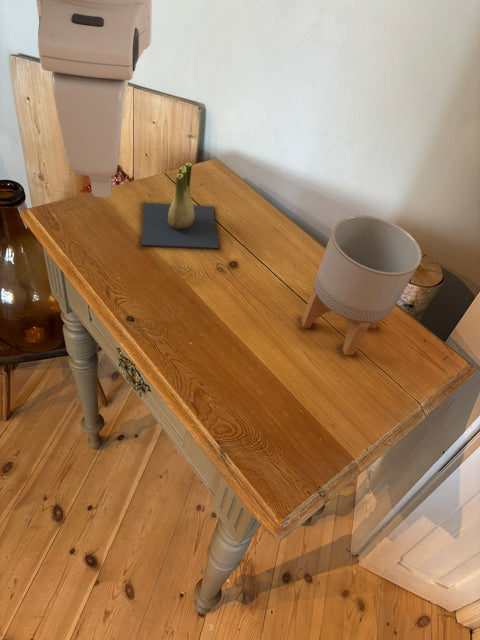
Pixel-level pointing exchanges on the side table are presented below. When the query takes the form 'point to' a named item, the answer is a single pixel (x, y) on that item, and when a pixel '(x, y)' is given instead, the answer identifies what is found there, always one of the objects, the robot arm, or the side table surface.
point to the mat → (167, 236)
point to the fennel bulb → (182, 201)
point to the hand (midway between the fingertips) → (106, 167)
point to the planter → (362, 274)
